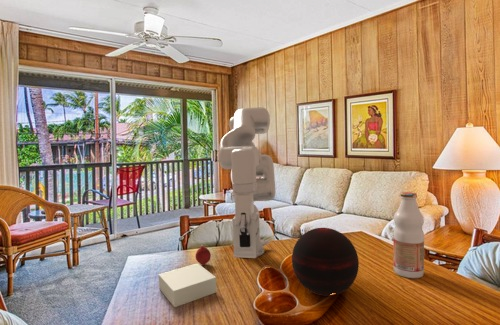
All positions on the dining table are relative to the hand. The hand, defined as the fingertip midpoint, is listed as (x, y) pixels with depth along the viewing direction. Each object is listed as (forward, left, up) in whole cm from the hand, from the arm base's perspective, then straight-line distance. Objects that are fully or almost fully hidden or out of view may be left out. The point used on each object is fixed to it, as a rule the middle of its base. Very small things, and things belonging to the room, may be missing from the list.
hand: (246, 241), depth 98 cm
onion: (+3, -26, -16) cm, 31 cm away
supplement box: (0, 0, -4) cm, 4 cm away
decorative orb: (-18, +17, -16) cm, 29 cm away
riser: (+16, -11, -16) cm, 25 cm away
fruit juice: (-50, +26, -16) cm, 58 cm away
